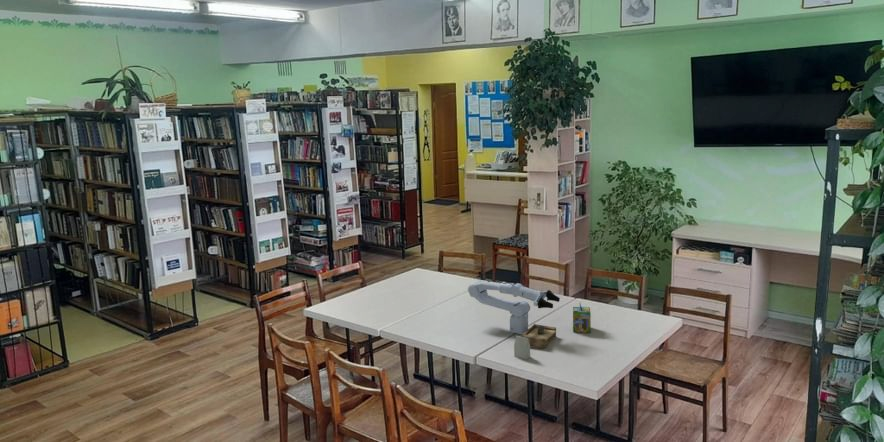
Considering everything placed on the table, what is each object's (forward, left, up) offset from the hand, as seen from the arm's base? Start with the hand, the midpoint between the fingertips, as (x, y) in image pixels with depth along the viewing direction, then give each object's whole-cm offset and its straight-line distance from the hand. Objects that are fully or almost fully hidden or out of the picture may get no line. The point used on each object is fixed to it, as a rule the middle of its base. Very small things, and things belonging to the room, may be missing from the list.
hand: (556, 303), depth 312 cm
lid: (-6, -6, -16) cm, 18 cm away
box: (-7, -6, -19) cm, 22 cm away
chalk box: (+8, +18, -20) cm, 28 cm away
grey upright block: (-7, -28, -20) cm, 35 cm away
